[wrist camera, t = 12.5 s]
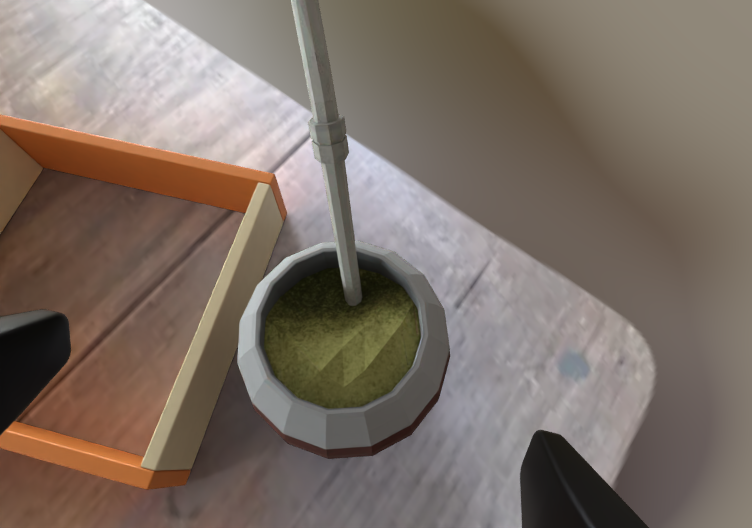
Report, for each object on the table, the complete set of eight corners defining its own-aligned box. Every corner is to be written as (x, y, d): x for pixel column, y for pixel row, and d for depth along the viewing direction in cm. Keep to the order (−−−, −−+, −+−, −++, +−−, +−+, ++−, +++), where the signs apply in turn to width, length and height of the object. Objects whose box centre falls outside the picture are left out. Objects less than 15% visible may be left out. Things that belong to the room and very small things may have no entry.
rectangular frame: (185, 485, 18) (147, 490, 15) (-123, 399, 20) (-218, 387, 16) (287, 212, 24) (275, 173, 20) (40, 157, 25) (-9, 111, 22)
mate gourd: (356, 497, 18) (323, 599, 5) (226, 368, 20) (-67, 170, 7) (466, 359, 21) (660, 153, 7) (339, 255, 23) (296, -63, 9)
